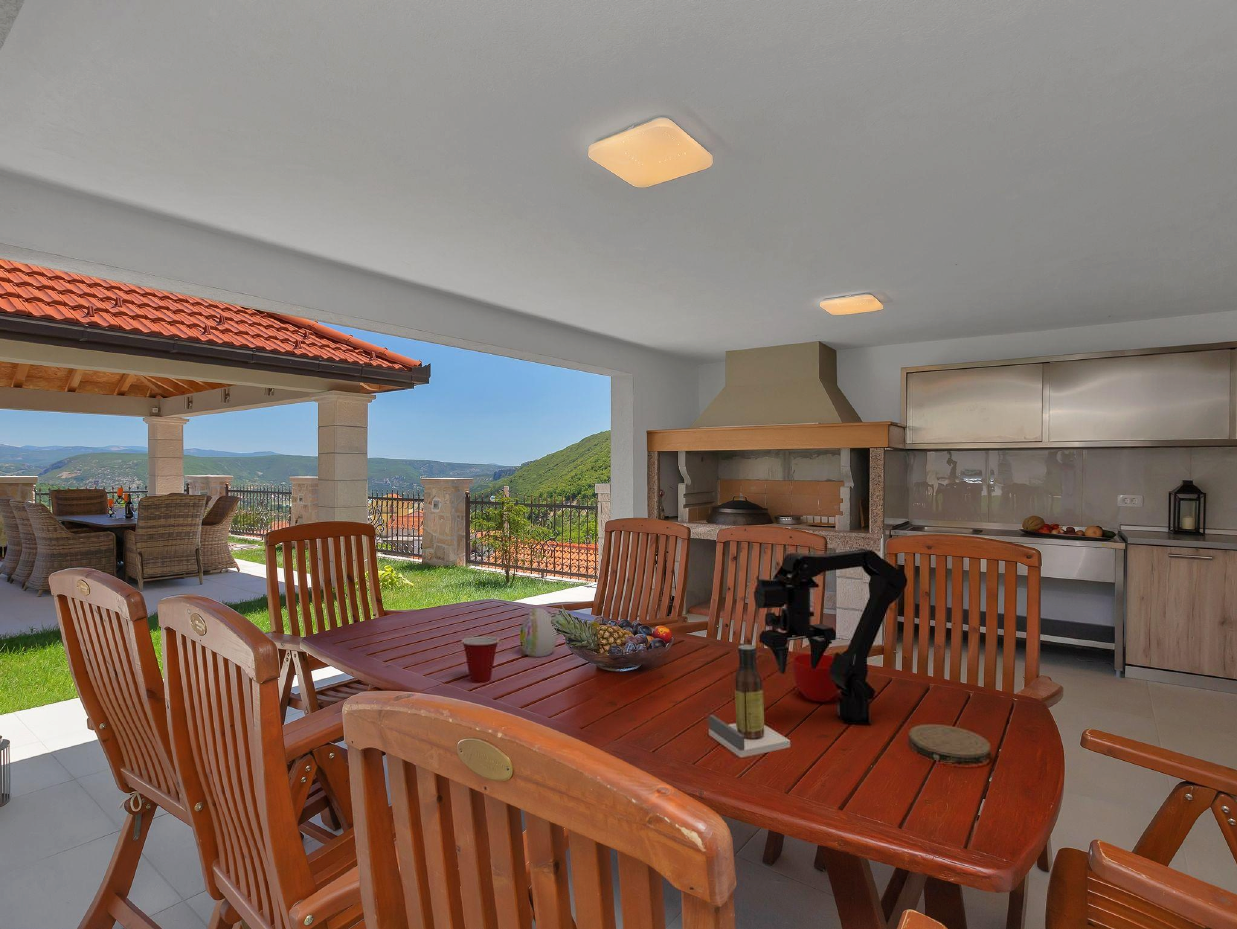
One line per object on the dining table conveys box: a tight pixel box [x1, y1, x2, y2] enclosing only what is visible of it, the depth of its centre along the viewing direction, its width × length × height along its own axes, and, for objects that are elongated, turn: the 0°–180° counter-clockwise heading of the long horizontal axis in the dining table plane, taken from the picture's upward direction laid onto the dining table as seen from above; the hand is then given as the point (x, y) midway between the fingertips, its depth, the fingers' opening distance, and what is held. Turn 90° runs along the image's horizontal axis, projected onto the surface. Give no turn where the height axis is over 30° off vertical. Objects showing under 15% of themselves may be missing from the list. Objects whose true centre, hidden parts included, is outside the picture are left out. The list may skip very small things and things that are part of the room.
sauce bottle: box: [734, 644, 765, 739], centre depth 148 cm, size 6×6×20 cm
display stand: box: [708, 714, 791, 758], centre depth 148 cm, size 13×13×4 cm
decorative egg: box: [519, 607, 558, 658], centre depth 216 cm, size 12×12×15 cm
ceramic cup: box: [792, 653, 839, 703], centre depth 175 cm, size 13×17×10 cm
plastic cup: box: [461, 636, 500, 684], centre depth 190 cm, size 11×11×12 cm
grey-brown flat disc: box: [908, 723, 991, 765], centre depth 142 cm, size 16×16×3 cm
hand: (798, 671), depth 157 cm, fingers open, 9 cm apart
